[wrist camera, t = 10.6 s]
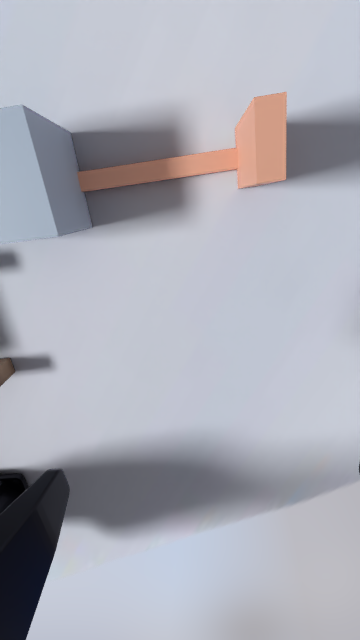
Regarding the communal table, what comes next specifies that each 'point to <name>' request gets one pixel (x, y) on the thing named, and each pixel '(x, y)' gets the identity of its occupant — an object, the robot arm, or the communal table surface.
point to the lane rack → (6, 370)
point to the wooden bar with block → (115, 168)
